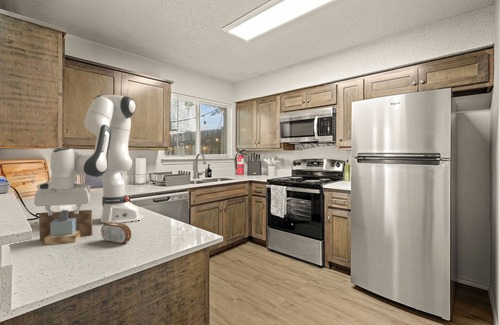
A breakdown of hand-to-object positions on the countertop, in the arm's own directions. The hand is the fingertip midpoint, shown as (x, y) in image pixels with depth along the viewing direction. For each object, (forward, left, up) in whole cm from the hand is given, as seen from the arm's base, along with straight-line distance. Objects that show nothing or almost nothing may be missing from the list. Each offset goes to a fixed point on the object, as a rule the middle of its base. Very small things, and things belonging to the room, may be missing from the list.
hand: (63, 214), depth 112 cm
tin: (-22, +11, -12) cm, 27 cm away
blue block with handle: (0, 0, -8) cm, 8 cm away
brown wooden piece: (0, +1, -11) cm, 11 cm away
